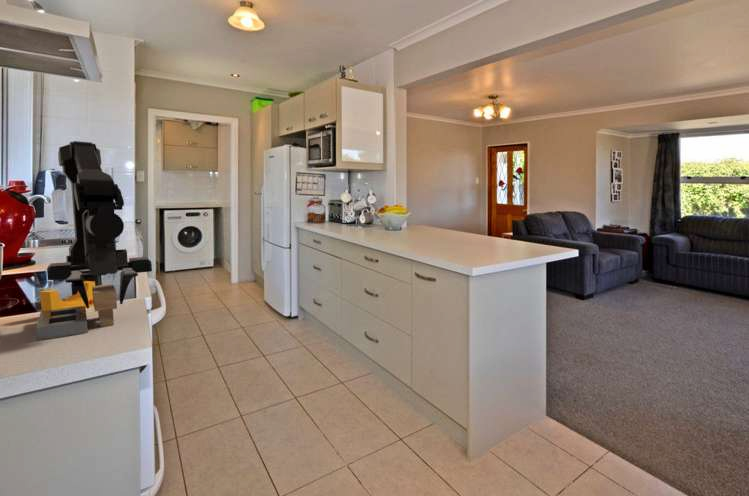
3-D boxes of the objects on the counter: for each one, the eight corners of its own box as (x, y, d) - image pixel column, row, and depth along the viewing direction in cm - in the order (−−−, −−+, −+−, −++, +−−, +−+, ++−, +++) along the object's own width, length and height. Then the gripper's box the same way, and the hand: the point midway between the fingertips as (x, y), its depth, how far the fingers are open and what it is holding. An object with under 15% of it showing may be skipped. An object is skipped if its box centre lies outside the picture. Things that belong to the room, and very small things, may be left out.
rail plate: (41, 322, 89) (40, 311, 89) (86, 316, 94) (85, 305, 94) (37, 340, 78) (36, 327, 78) (87, 332, 83) (86, 320, 83)
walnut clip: (94, 318, 93) (92, 286, 92) (115, 315, 95) (112, 284, 94) (96, 327, 86) (93, 293, 85) (118, 324, 88) (115, 290, 87)
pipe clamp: (82, 305, 104) (80, 280, 103) (96, 306, 103) (94, 281, 103) (36, 318, 92) (33, 291, 91) (52, 320, 92) (49, 292, 91)
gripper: (42, 242, 76) (49, 322, 78) (153, 237, 87) (157, 307, 89) (45, 237, 85) (52, 309, 87) (146, 233, 96) (150, 297, 98)
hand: (104, 305), depth 90 cm, fingers open, 6 cm apart
